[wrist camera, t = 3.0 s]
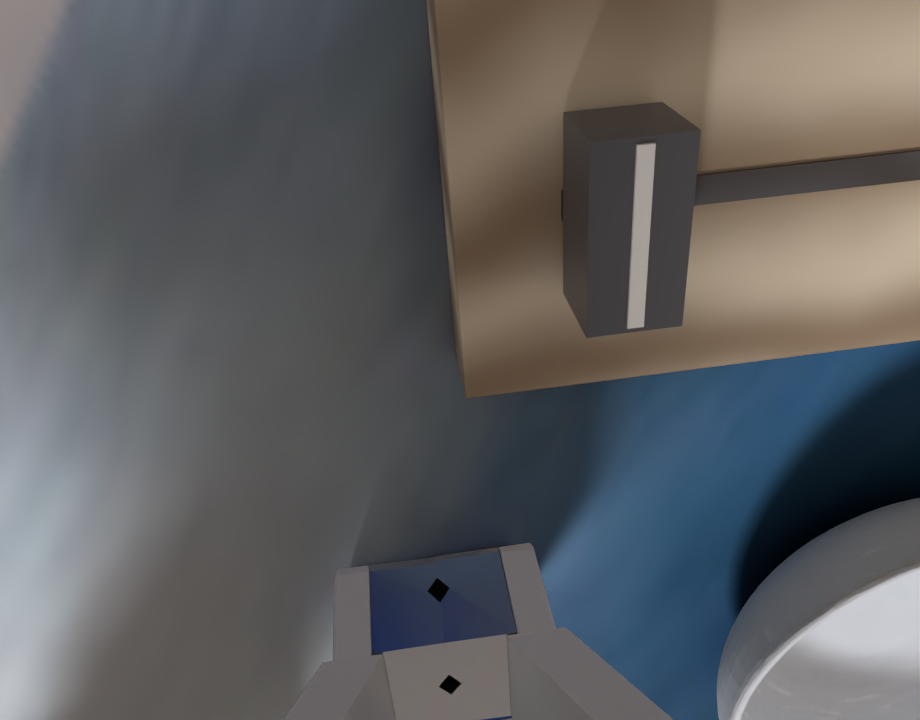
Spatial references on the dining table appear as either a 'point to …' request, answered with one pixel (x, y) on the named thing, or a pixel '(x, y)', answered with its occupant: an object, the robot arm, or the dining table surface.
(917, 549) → the serving bowl
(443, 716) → the robot arm
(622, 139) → the fader
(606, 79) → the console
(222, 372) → the dining table surface
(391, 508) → the dining table surface
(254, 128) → the dining table surface
